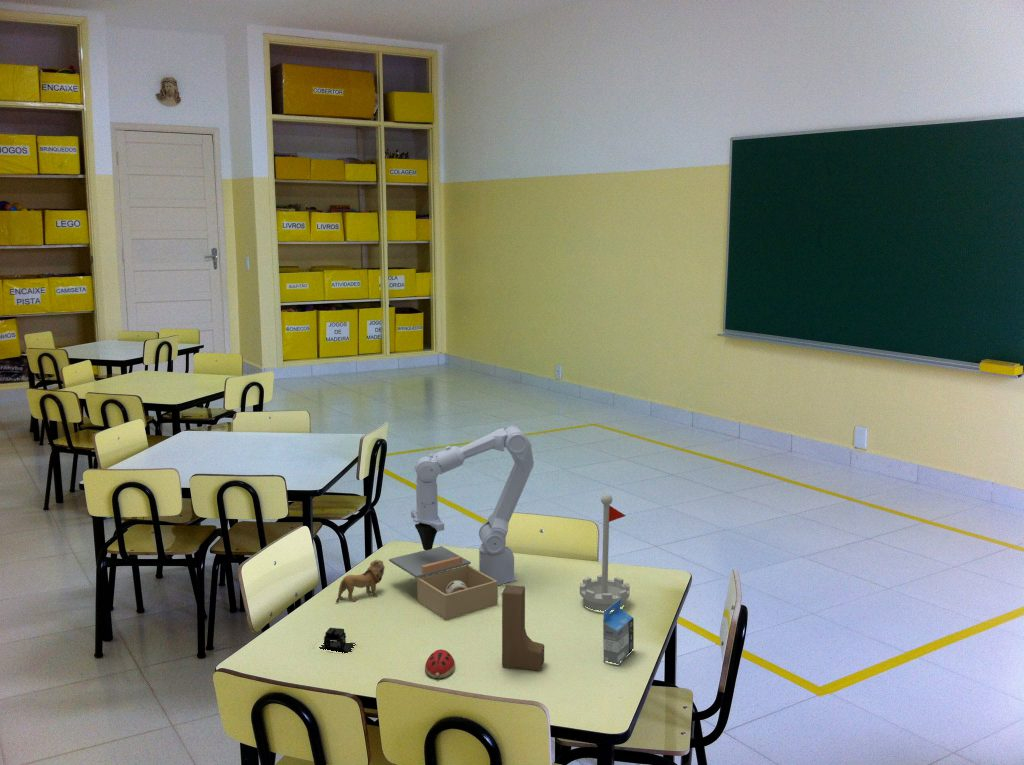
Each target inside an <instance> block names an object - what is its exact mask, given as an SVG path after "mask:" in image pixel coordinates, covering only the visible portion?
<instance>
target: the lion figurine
mask: <svg viewBox="0 0 1024 765" xmlns="http://www.w3.org/2000/svg"><path fill="white" fill-rule="evenodd" d="M384 572H385V565H384V562H383V560H381V559H375V560H373V561H371V562H370V564H369V567H368V568H367V569H366V570H365V572H364V573H363V572H362V573H359V574H347V575H345V576H344V577H343V578H342V580H341V581H340V583H339V587H338V593H337V594H338V595H337V599H336V601H335V602H336V603H338V602H339V601H341V600H344V596H343V595H342V594H343V593H344V592H345V591H346V590H347V592H348V594H347V597H348V598H349V599H350V601H351V602H355V603H356V602H357V598H355V597H353V592H354V590H355V588H358V589H362V588H366V589H365V590H366V591H365V593H366V594H368V595H370V594H371V595H372V597H374V596H376V597H377V596H378V593H376V589H377V588H376V587H377V584H380V582H381V581H382V579H383V577H384V576H383V575H384ZM339 599H340V600H339Z"/></svg>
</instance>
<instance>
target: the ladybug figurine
mask: <svg viewBox="0 0 1024 765" xmlns="http://www.w3.org/2000/svg"><path fill="white" fill-rule="evenodd" d="M455 667H456V661H455V659H454V657H453V656H452V654H451V653H450V652H449V651H447V650H445V649H442V648H440V649H437V650H434V651H433V652H432V653H431V654H430V655H429V657H428V658H427V659H426V662H425V666H424V670H425V672H426V674H427V675H428V676H429V677H431V678H433V677H434V679H443V677H444V678H447V677H449V676H450V675H451V674H452V673H454V671H455V669H456V668H455Z"/></svg>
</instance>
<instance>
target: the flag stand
mask: <svg viewBox="0 0 1024 765" xmlns="http://www.w3.org/2000/svg"><path fill="white" fill-rule="evenodd" d="M600 502H601V503H602V505H603V515H602V517H603V518H602V520H603V521H602V522H603V524H602V529H603V530H602V556H601V558H602V559H601V560H602V562H601V563H602V565H601V575H596V577H597V578H596V579H592V577H590V576H588V577H585V578H583V579H582V582H580V583H579V595H580V597H581V598H583V599H582V601H583V602H582V603H584V605H585V606H586V607H588V608H590V609H593V610H599V611H600V610H601V611H605V610H607V609H608V608H609V607H610V606H612V605H613V604H614V603H616V602H617V601H618V600H620V599H621V604H620V607H622V606H623V605H624V604H625V605H626V601H627V600H628V599H629V597H630V587H631V586H630V584H629V582H626V583H624V579H623V578H621V577H617V576H615V577H614V578H613V580H612V579H609V577H608V576H609V546H610V543H609V539H610V538H609V536H610V535H609V534H610V522H613V521H616V520H618V519H622V518H623V517H627V515H625V514H624V513H622V512H621V511H620V510H618V509H617V508H614V507H613V506H611V504H612V503H613V497H612V495H610V494H608V493H605V494H603V495H602V496H601V498H600ZM616 596H617V597H616ZM584 605H583V606H584ZM585 606H584V607H585ZM586 607H585V608H586ZM614 609H615V608H614ZM614 609H613V608H612V610H614Z"/></svg>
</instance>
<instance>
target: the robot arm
mask: <svg viewBox="0 0 1024 765" xmlns="http://www.w3.org/2000/svg"><path fill="white" fill-rule="evenodd" d="M532 447H533V446H532V443H531V442H530V440H529V438H528V437H527V435H526V434H525V433H524V432H523V430H522V429H521V428H520V427H519V425H518V426H517V425H516V424H510V425H507V426H505V427H504V428H497V429H496V430H494V431H492V432H490V433H488V434H486V435H484V436H483V437H481V438H478V439H475V440H474V441H471V442H470V443H468V444H465V445H463V446H462V447H458V446H456V445H453V446H450V445H447V446H445V449H444V450H441V451H438V452H436V453H434V454H433V453H430V454H428V455H429V456H422V457H420V458H418V460H417V461H416V463H415V466H414V469H415V473H416V485H415V492H416V495H415V496H416V509H414V510H411V511H410V518H411V519H412V520H413V521H412V522H414V523H416V524H414V528H415V530H417V533H418V535H419V538H420V541H421V546H422V549H423V551H424V550H430V549H432V548H433V547H434V542H435V539H436V536H437V533H438V532H442V531H445V522H443V521H442V520H441V518H440V517H439V513H438V512H439V510H438V505H439V502H438V484H437V478H438V477H439V475H442V474H444V473H447V472H450V471H452V470H454V469H456V468H460V467H461V466H463V464H464V462H465V460H466V459H469V458H471V457H474V456H478V455H480V454H482V453H485V452H487V451H491V450H496V451H500V452H505V448H506V450H507V451H508V453H509V454H510V455H511V458H512V460H513V462H514V463H513V466H512V468H511V470H510V472H509V475H508V477H507V480H506V482H505V484H504V487H503V489H502V491H501V494H500V496H499V497H498V500H497V503H496V505H495V508H494V509H493V511H492V514H490V515H489V516H488V518H487V520H486V522H485V523H483V524H482V526H481V527H480V528H479V530H478V536H479V538H480V541H481V545H480V547H479V549H478V554H479V556H478V557H479V558H478V559H479V562H478V563H479V565H478V567H479V568H478V571H480V572H482V573H484V574H485V575H487V576H489V577H491V578H493V579H494V580H496V581H498V586H500V585H503V584H507V583H510V582H514V581H516V580H517V579H516V577H515V555H514V552H513V550H512V549H511V548H510V547H509V546H506V545H507V544H506V537H507V534H508V532H509V523H510V520H511V518H512V517H513V514H514V511H515V509H516V507H517V504H518V502H519V500H520V498H521V495H522V493H523V491H524V488H525V486H526V485H527V482H528V479H529V477H530V475H531V472H532V471H533V468H534V465H535V463H534V462H535V461H534V457H533V450H532Z"/></svg>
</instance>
